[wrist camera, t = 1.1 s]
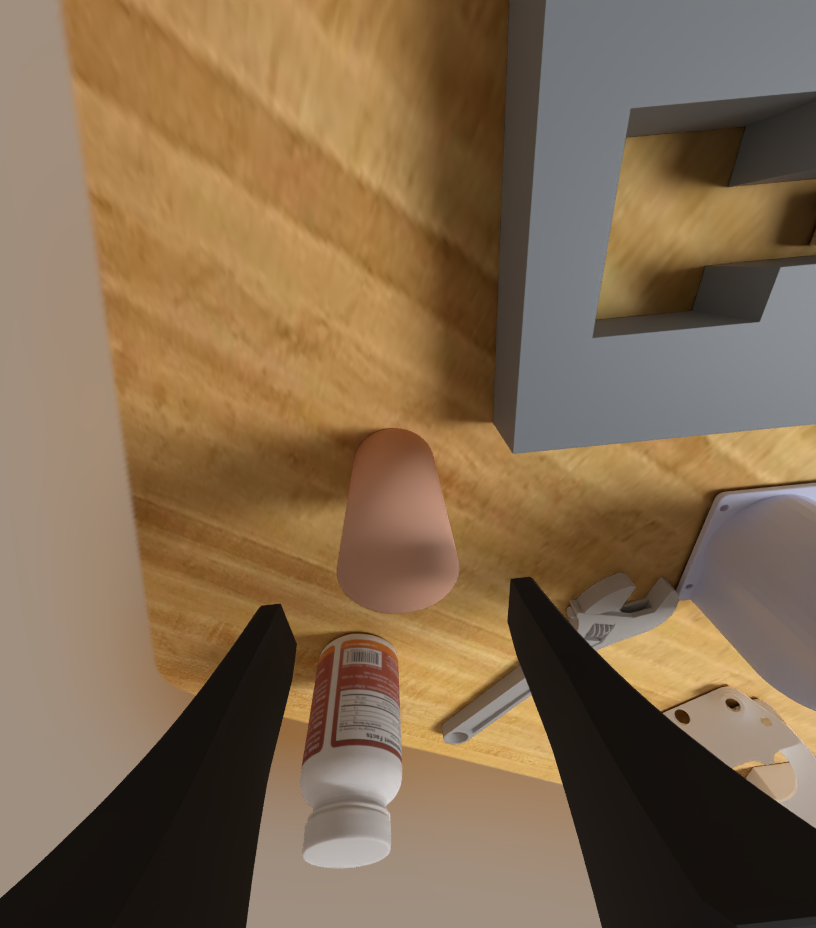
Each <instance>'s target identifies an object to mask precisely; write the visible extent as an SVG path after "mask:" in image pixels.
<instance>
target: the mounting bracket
mask: <svg viewBox="0 0 816 928" xmlns="http://www.w3.org/2000/svg"><path fill="white" fill-rule="evenodd" d="M729 698H731V699H734V700H736V701H737V702H738V703H739V704H740V705H738V706H736V707H733V708H730V707H728V706H727V704H726V702H725V701H726V700H727V699H729ZM678 709H680V710H683V711H685V712H686V713H687V714H688V715H689V717H690V722H689V723H687V724H683V723H681V722H679V721H678V720H677V719H676V717H675V711H676V710H678ZM663 714H664V715H665V716H666V717H668V718H669V719H670V720H671V721H672V722H673V723H675V724H676V725H677V726H678V727H680V728H681V729H682V730H683V731H685V732H686V733H687V734H688V735H690V736H691V737H692V738H693V739H695V740H696V741H697V742H698V743H700V744H701V745H702V746H704V747H705V748H706V749H707V750H709V751H710V752H711V753H712V754H714V755H715V756H716V757H717V758H719V759H720V760H721V761H723V762H724V763H725V764H726V765H728V766H729V767H730V768H733V767H736V766H738V765H741V764H744V763H747V762H750V761H757V762H761V763H763V764H765V765H769V764H772V763H774V755H775V753H776V752H778V751H780V752H781V753H782V754H783V755H784V756H785V757H786V758H787V760H788V761H789V762H790V764H791V766H792V768H793V770H794V773H795V778H796V784H795V788H794V790H793V792H792V793H791V794H790V795H789V796H787V797H785V798H781V799H774V800H776V801H777V802H778V803H780V804H781V805H783V806H784V807H786V808H787V809H788V810H790V811H791V812H793V813H794V814H796V815H797V816H798V817H800V818H801V819H803V820H804V821H806V822H807V823H809V824H810V825H812V826H813V827H815V828H816V757H815V756H814V755H813V753H812V752H811V751H810V750H809V749H808V748H807V746H806V745H805V744H804V743H803V742H802V741H801V740H800V738H799V737H798V736H797V735H796V734H795V733H794V731H793V730H792V729H791V728H790V727H789V726H788V725H787V723H786V722H785V721H784V720H783V719H782V718H781V717H780V715H779V714H778V713H777V712H776V711H775V710H774V708H773V707H772V706H771V705H770V704H768V703H767V702H765V701H763V700H760V699H753V700H752V699H750V698H749V697H748V696H746V695H745V694H744V693H742V692H741V691H739V690H738V689H735V688H733V687H728V686H725V687H721V688H718V689H716V690H714V691H711V692H709V693H707V694H704V695H702V696H700V697H698V698H695V699H693V700H691V701H689V702H686V703H684V704H682V705H679V706H677V707H675V708H673V709H670V710H668V711H666V712H663ZM762 717H765V718H762Z"/></svg>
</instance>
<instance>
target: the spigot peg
mask: <svg viewBox="0 0 816 928" xmlns="http://www.w3.org/2000/svg"><path fill="white" fill-rule="evenodd" d="M458 575H459V560H458V556H457V552H456V548H455V543H454V539H453V535H452V531H451V527H450V523H449V519H448V515H447V511H446V506H445V502H444V498H443V494H442V490H441V486H440V482H439V478H438V473H437V469H436V465H435V461H434V457H433V453H432V451H431V449H430V447H429V445H428V444H427V443H426V441H425V440H424V439H422V438H421V437H420V436H419V435H417V434H415V433H413V432H411V431H408V430H405V429H398V428H390V429H384V430H380V431H378V432H375V433H373V434H371V435H370V436H368V437H367V438H366V439H365V440H364V441H363V442H362V443H361V444H360V446H359V447H358V449H357V451H356V453H355V457H354V462H353V469H352V475H351V481H350V488H349V494H348V501H347V507H346V513H345V520H344V526H343V532H342V539H341V545H340V552H339V558H338V564H337V578H338V582H339V584H340V586H341V588H342V590H343V591H344V593H345V594H346V595H347V596H348V597H349V598H350V599H351V600H353V601H354V602H355V603H357V604H359V605H360V606H362V607H364V608H367V609H369V610H373V611H376V612H381V613H388V614H402V613H410V612H415V611H419V610H422V609H425V608H427V607H429V606H432V605H433V604H435V603H437V602H439V601H440V600H441V599H443V598H444V597H445V596H446V595H447V594H448V593H449V592H450V591H451V590H452V588H453V587H454V585H455V583H456V581H457V579H458Z"/></svg>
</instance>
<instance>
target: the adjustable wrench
mask: <svg viewBox="0 0 816 928" xmlns="http://www.w3.org/2000/svg"><path fill="white" fill-rule="evenodd" d="M635 588H636V586H635V585H634V583H633V582H632V581H631V579H630V578H629V577H628V575H627V574H626V573H621V572H619V573H617V574H614V575H611V576H609V577H607V578H604V579H602V580H600V581H599V582H597V583H595V584H594V585H592V586H591V587H589V588H588V589H587V590H586V591H584V592H583V593H582V594H581V595H580V596H579V597H578V598H577V599H570V602H569V603H570V605H571V606H569V607H567V611H566V612H567V616H568V617H569V618H570V619H569V623H570V624H571V625H572V626H573V627H574V628H575V629H576V630H577V631H578V632H579V634H580V635H581V636H582V637H583V638H584V639H585V640H586V641H587V642H588V643H589V644H590V645H591V646H592V647H593V648H594V650H595V651H596V650H598V649H601V648H603V647H606V646H608V645H611V644H613V643H616V642H618V641H621V640H624V639H627V638H630V637H633V636H636V635H638V634H641V633H644V632H647V631H649V630H652V629H653V628H655V627H657V626H659V625H660V624H662V623H663V622H664V621H666V620H667V619H668V618H669V617H670V616H671V615H672V614H673V612H674V610H675V609H676V607H677V604H678V601H679V599H678V593H677V592H676V591H675V590H674V588H673V587H672V586H671V585H670V584H669V583H668V581H667V580H666V579H665V578H663V577H660V578H659V579H658V581H657V582H656V583H655V585H654V586H653V587H652V589H651V590H650V592H649V593H648V594H647V596H646V597H645V598H644V599H641V600H637V601H633V602H629V603H626V604H624V603H625V602H626V601H627V599H628V598H629V596H630V595H631V594H632V592H633V591H634V589H635ZM530 695H532V694H531V692H530V689H529V686H528V684H527V681H526V679H525V676H524V673H523V671H522V668H521V665H519V666H518V667H517V668H516V669H514V670H513V671H512V672H510V673H509V674H508V675H506V676H505V677H504V678H502V679H501V680H500V681H499V682H497V683H496V684H495V685H493V686H492V687H491V688H489V689H488V690H487V691H485V692H484V693H483V694H481V695H480V696H479V697H478V698H476V699H475V700H474V701H472V702H471V703H470V704H468V705H467V706H466V707H464V708H463V709H462V710H461V711H459V712H458V713H457V714H455V715H454V716H453V717H451V718H450V719H449V720H447V721H446V722H445V723H444V724H443V725H442V732H443V739H444V741H445V742H446V743H448V744H461V743H464V742H466V741H468V740H469V739H471V738H472V737H474V736H475V735H476V734H478V733H479V732H480V731H482V730H483V729H485V728H486V727H487V726H489V725H490V724H492V723H493V722H494V721H496V720H497V719H498V718H500V717H501V716H503V715H504V714H505V713H507V712H508V711H510V710H511V709H512V708H514V707H515V706H516V705H518V704H519V703H521V702H522V701H523V700H525V699H526V698H528V697H529V696H530Z"/></svg>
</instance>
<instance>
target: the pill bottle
mask: <svg viewBox="0 0 816 928" xmlns="http://www.w3.org/2000/svg"><path fill="white" fill-rule="evenodd" d="M401 752H402V750H401V725H400V700H399V673H398V657H397V653H396V651H395V649H394V648H393V646H392V645H391V644H390V643H388V642H387V641H386V640H384V639H382V638H380V637H377V636H374V635H369V634H349V635H345V636H342V637H340V638H337V639H335V640H333V641H332V642H330V643H329V644H328V645H327V646H326V647H325V648H324V649H323V651H322V653H321V655H320V658H319V662H318V667H317V674H316V680H315V686H314V693H313V699H312V706H311V712H310V718H309V724H308V731H307V738H306V743H305V750H304V756H303V763H302V771H301V779H300V787H301V792H302V795H303V797H304V799H305V801H306V802H307V803H308V805H310V806H311V807H312V808H313V812H312V813H311V814H310V816H309V817H308V822H307V823H306V826H305V833H304V843H303V851H302V854H303V858H304V860H305V861H306V862H308V863H310V864H312V865H315V866H319V867H326V868H351V867H358V866H364V865H368V864H372V863H375V862H377V861H379V860H381V859H383V858H385V857H386V856H387V855H388V854H389V852H390V849H391V821H390V813H389V811H388V810H387V809H386V806H387V804H388V803H390V802H391V801H392V800H393V798H394V797H395V796H396V794H397V793H398V791H399V788H400V785H401V781H402V755H401V754H402V753H401Z"/></svg>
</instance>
